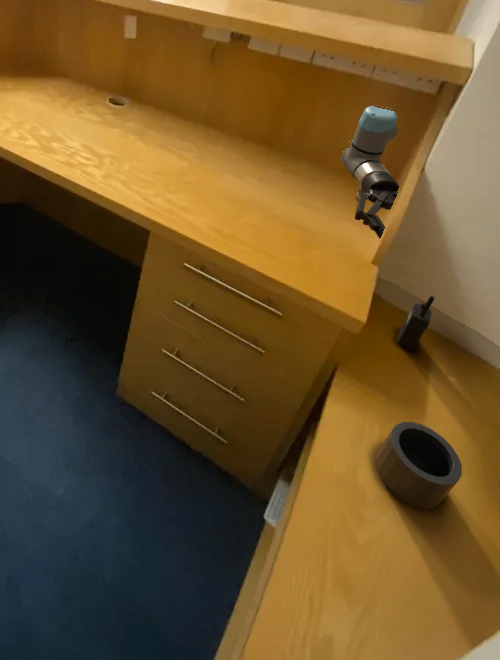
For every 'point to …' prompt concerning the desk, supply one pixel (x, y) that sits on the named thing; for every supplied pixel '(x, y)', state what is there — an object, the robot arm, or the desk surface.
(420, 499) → the gray ring cup
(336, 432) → the desk surface
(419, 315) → the walkie-talkie
